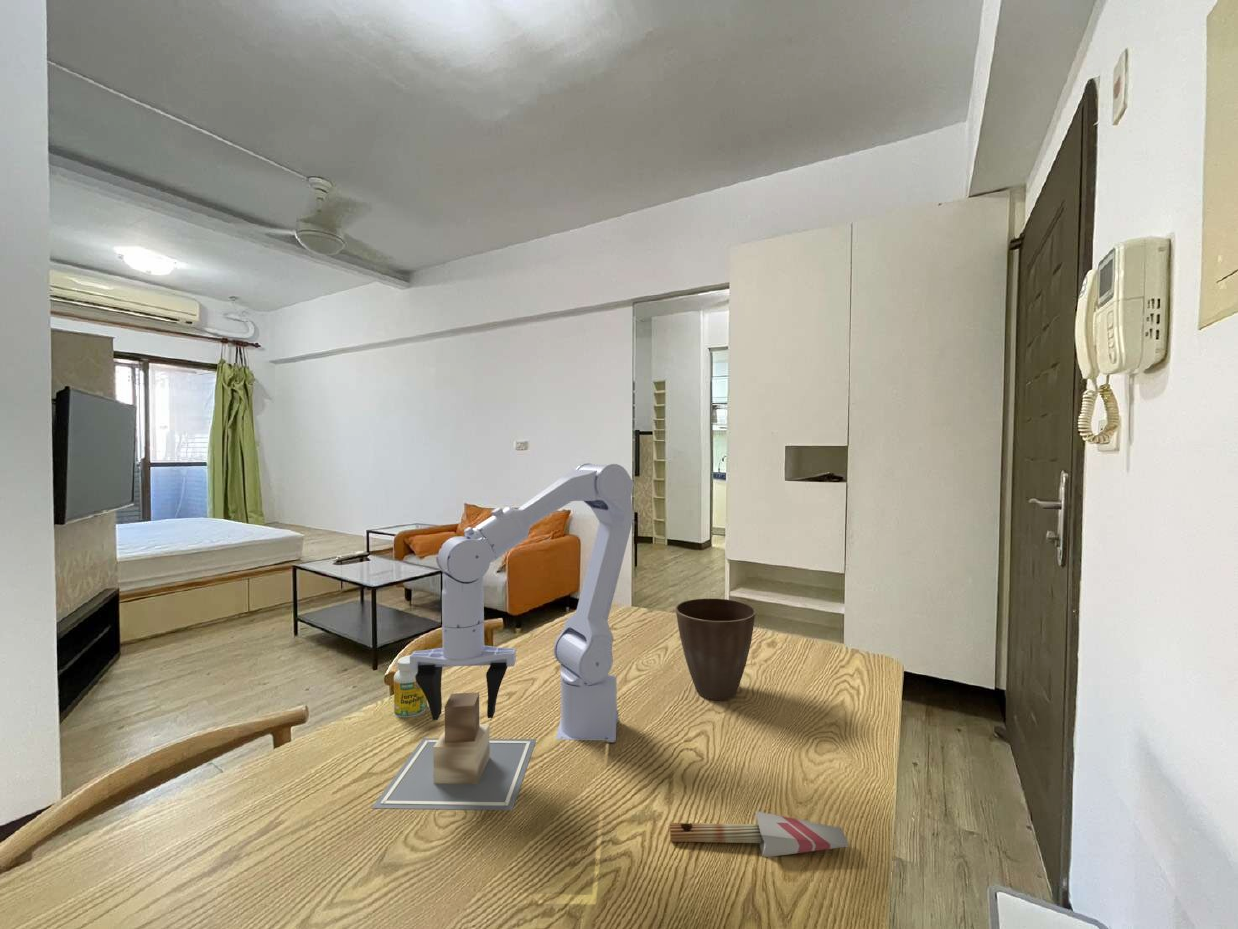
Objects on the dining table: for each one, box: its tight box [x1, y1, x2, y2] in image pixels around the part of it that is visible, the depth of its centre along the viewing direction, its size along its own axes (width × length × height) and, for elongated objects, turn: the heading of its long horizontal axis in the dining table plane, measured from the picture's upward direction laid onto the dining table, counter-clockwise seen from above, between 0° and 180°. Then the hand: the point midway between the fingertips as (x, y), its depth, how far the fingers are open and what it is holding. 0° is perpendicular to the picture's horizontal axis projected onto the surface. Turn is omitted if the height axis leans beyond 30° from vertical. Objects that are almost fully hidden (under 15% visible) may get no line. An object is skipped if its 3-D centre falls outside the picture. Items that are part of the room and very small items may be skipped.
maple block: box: [433, 723, 490, 784], centre depth 72 cm, size 6×6×5 cm
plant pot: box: [675, 597, 756, 701], centre depth 97 cm, size 15×15×16 cm
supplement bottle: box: [393, 654, 428, 718], centre depth 89 cm, size 5×5×10 cm
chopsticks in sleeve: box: [669, 810, 850, 858], centre depth 59 cm, size 4×3×20 cm
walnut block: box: [444, 691, 480, 743], centre depth 72 cm, size 4×4×5 cm
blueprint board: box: [371, 737, 537, 811], centre depth 72 cm, size 18×16×1 cm
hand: (464, 715), depth 73 cm, fingers open, 7 cm apart
